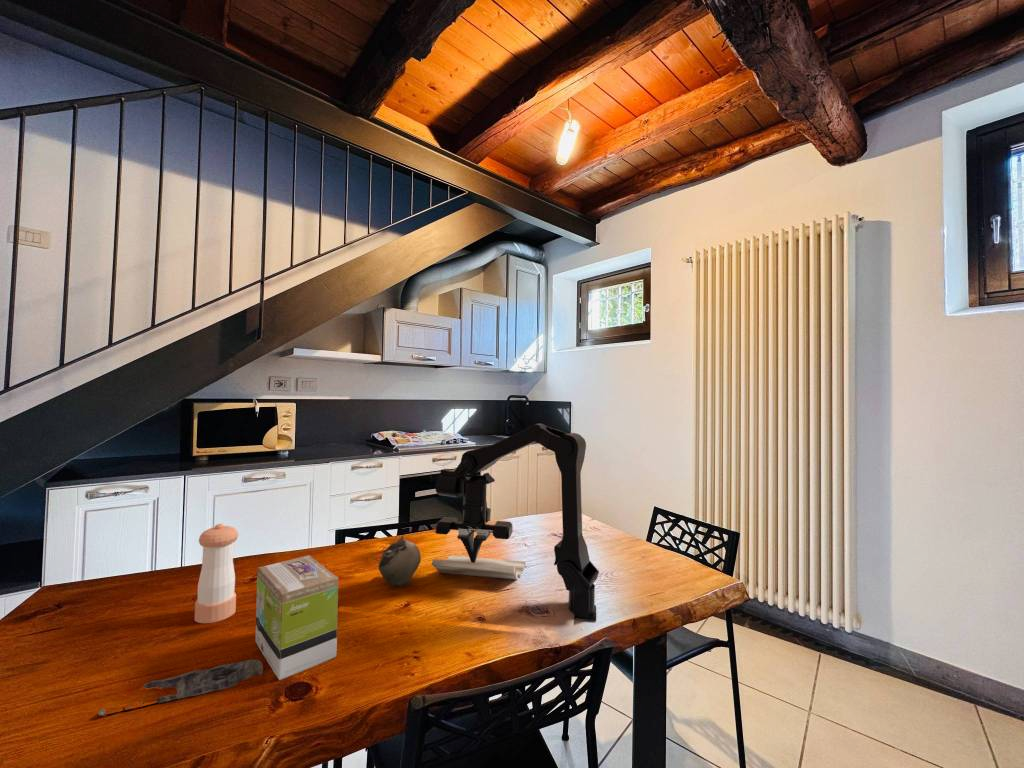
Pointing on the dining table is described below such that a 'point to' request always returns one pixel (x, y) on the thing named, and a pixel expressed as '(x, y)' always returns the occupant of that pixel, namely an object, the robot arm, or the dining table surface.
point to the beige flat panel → (492, 562)
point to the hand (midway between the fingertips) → (473, 562)
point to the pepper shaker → (216, 575)
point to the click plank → (475, 569)
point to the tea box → (296, 615)
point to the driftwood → (206, 680)
